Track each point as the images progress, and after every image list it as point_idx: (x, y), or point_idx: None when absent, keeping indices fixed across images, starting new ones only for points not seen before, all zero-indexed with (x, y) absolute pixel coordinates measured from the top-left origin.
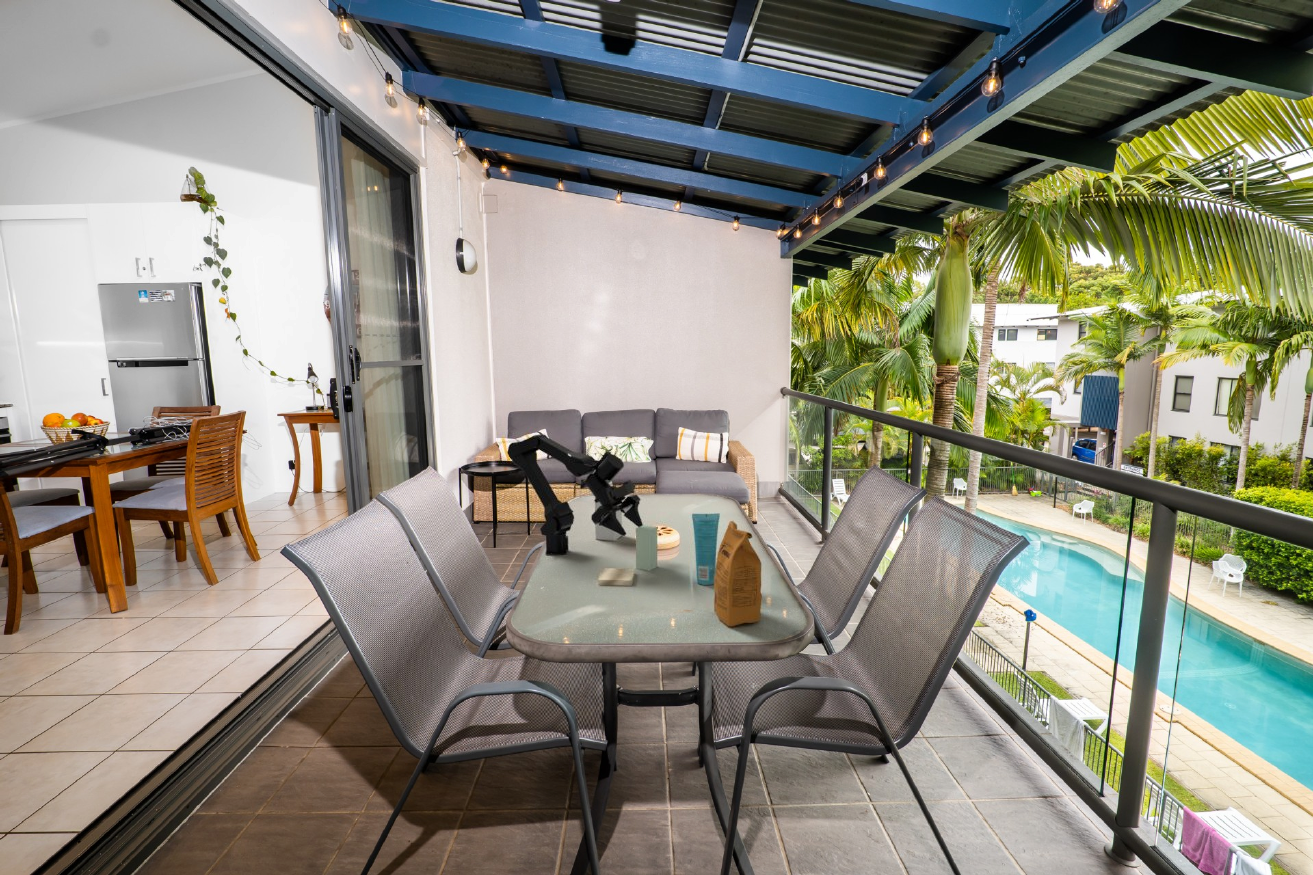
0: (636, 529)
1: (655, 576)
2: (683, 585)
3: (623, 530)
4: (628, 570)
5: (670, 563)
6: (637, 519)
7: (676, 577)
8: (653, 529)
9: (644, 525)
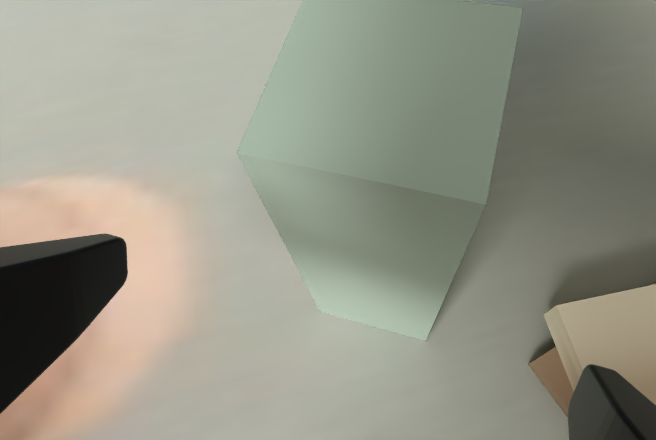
0: (483, 199)
1: (488, 193)
2: (562, 37)
3: (653, 408)
4: (610, 340)
5: (240, 174)
6: (2, 302)
7: None
8: (407, 3)
9: (272, 135)
